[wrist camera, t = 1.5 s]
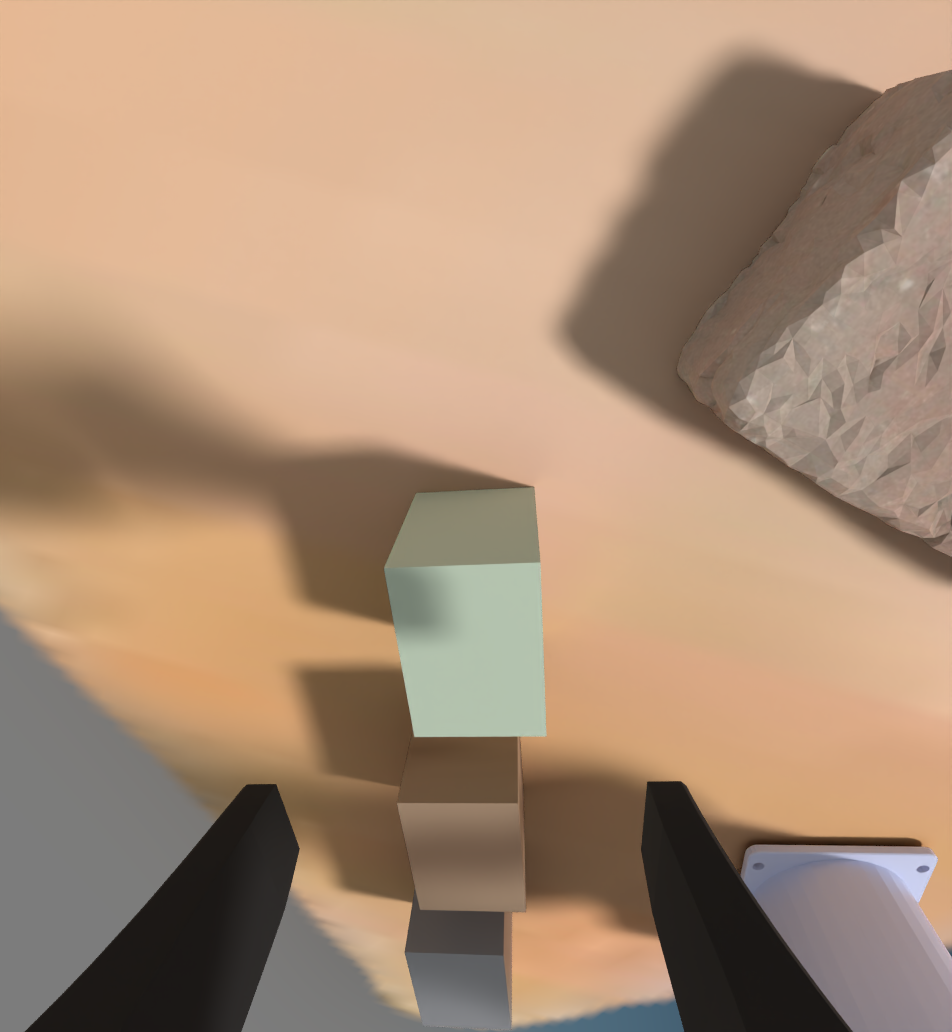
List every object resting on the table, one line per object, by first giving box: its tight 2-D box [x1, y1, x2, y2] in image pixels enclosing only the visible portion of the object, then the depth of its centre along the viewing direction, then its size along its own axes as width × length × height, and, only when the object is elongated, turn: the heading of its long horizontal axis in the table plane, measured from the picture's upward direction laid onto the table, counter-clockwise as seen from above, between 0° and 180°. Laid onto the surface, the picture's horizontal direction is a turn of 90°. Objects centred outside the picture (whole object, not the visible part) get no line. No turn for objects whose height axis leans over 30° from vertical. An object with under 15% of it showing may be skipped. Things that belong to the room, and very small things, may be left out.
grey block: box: [405, 889, 512, 1030], centre depth 25 cm, size 6×4×5 cm, turn 5°
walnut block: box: [397, 731, 526, 912], centre depth 21 cm, size 6×4×5 cm, turn 5°
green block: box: [384, 487, 546, 737], centre depth 17 cm, size 6×4×5 cm, turn 5°
